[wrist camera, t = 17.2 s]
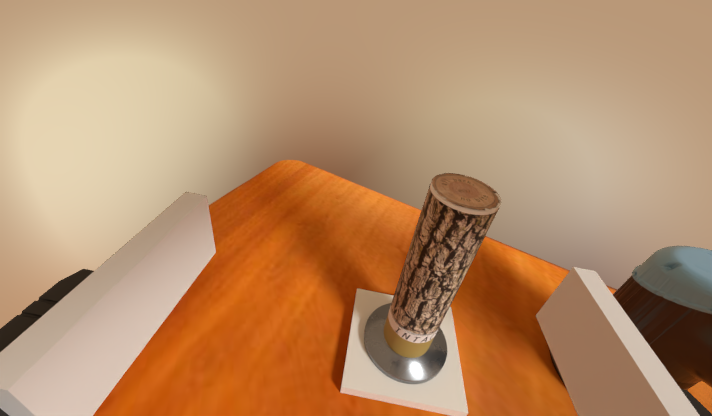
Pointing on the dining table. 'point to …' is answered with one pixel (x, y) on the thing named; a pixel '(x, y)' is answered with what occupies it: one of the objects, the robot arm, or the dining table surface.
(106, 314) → the robot arm
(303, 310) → the dining table surface
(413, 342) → the paper tube
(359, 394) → the domed button base
